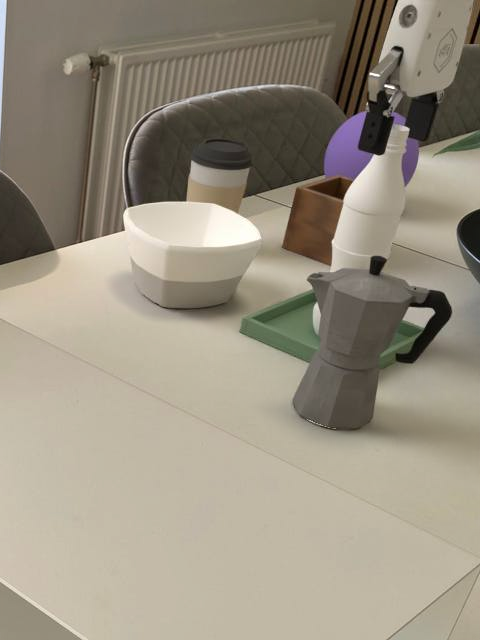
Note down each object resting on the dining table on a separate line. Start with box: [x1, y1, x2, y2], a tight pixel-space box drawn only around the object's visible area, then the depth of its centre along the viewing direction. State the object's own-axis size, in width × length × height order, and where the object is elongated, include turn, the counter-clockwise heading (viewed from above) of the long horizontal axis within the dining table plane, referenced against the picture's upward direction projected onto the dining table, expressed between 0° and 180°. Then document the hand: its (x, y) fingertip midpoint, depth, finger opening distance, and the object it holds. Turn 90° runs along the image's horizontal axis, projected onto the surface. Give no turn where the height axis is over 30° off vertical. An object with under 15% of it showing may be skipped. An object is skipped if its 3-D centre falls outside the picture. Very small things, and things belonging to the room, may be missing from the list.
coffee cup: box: [185, 137, 253, 214], centre depth 148 cm, size 9×9×15 cm
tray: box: [239, 288, 425, 370], centre depth 130 cm, size 18×18×2 cm
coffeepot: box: [291, 256, 453, 431], centre depth 109 cm, size 15×9×18 cm, turn 69°
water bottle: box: [313, 124, 410, 336], centre depth 122 cm, size 7×7×25 cm
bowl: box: [122, 201, 263, 309], centre depth 136 cm, size 18×18×9 cm
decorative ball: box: [323, 110, 420, 188], centre depth 168 cm, size 15×15×15 cm
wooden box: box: [281, 174, 355, 267], centre depth 152 cm, size 12×12×9 cm
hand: (392, 145), depth 115 cm, fingers open, 9 cm apart
